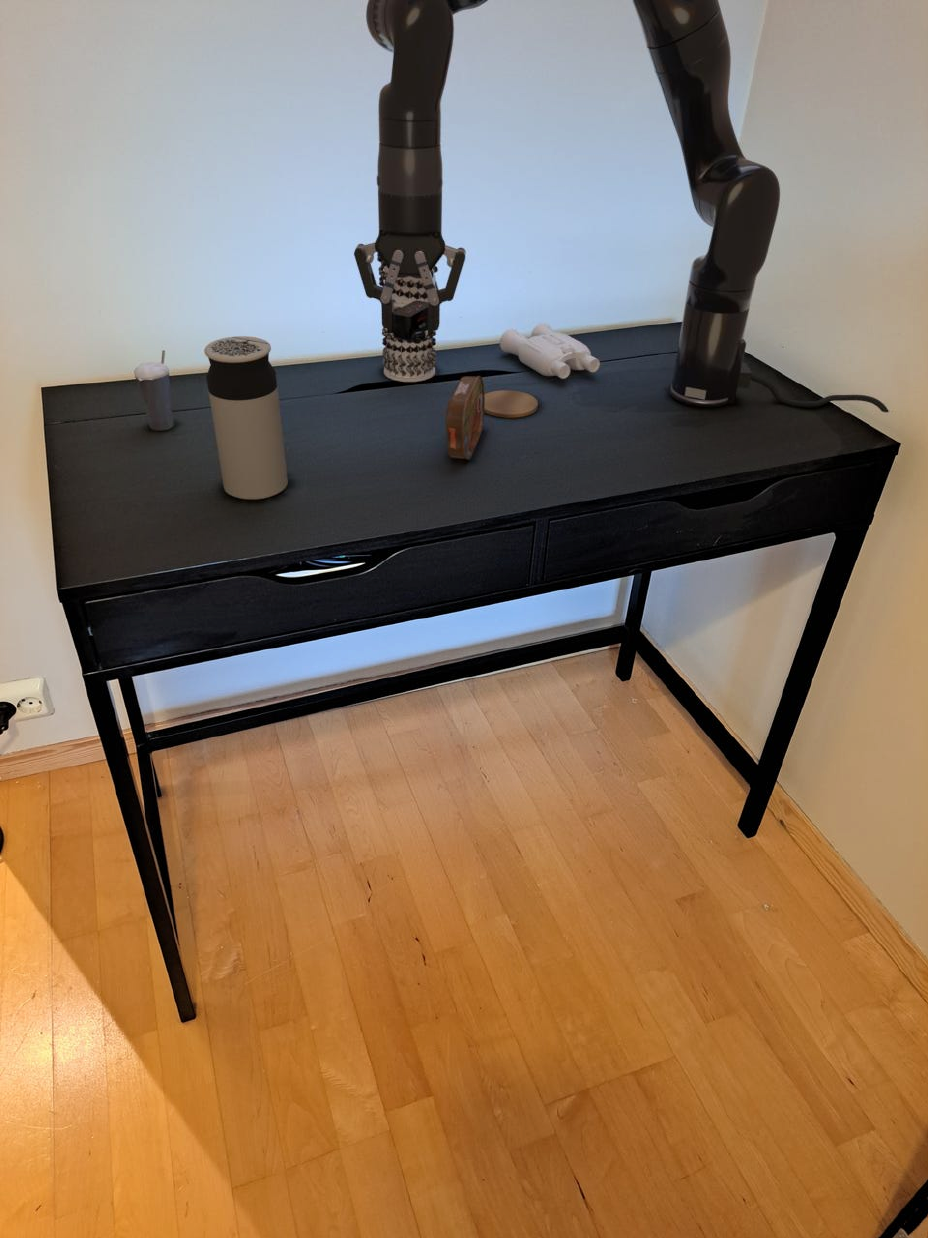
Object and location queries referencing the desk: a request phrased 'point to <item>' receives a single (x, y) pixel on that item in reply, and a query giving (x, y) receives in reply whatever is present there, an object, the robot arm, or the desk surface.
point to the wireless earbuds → (411, 322)
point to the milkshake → (155, 393)
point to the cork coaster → (509, 404)
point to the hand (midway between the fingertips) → (410, 331)
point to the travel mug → (246, 417)
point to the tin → (465, 417)
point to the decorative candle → (402, 355)
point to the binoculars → (549, 351)
